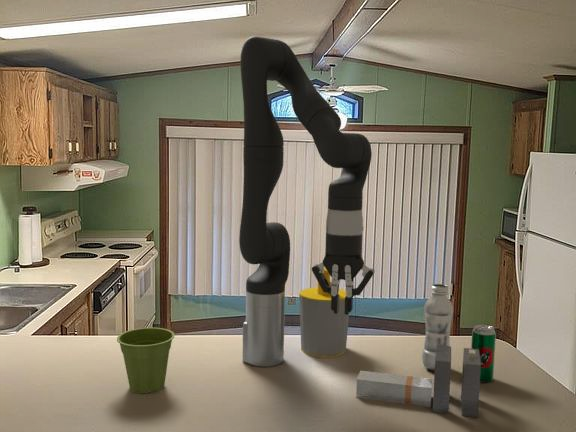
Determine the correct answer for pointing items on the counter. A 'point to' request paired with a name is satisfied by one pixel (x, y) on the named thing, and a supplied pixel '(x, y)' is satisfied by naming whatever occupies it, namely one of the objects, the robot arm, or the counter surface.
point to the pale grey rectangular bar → (394, 388)
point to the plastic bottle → (436, 323)
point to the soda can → (485, 349)
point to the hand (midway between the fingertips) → (341, 312)
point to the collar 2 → (470, 382)
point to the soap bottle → (322, 322)
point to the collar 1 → (442, 379)
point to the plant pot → (146, 357)
